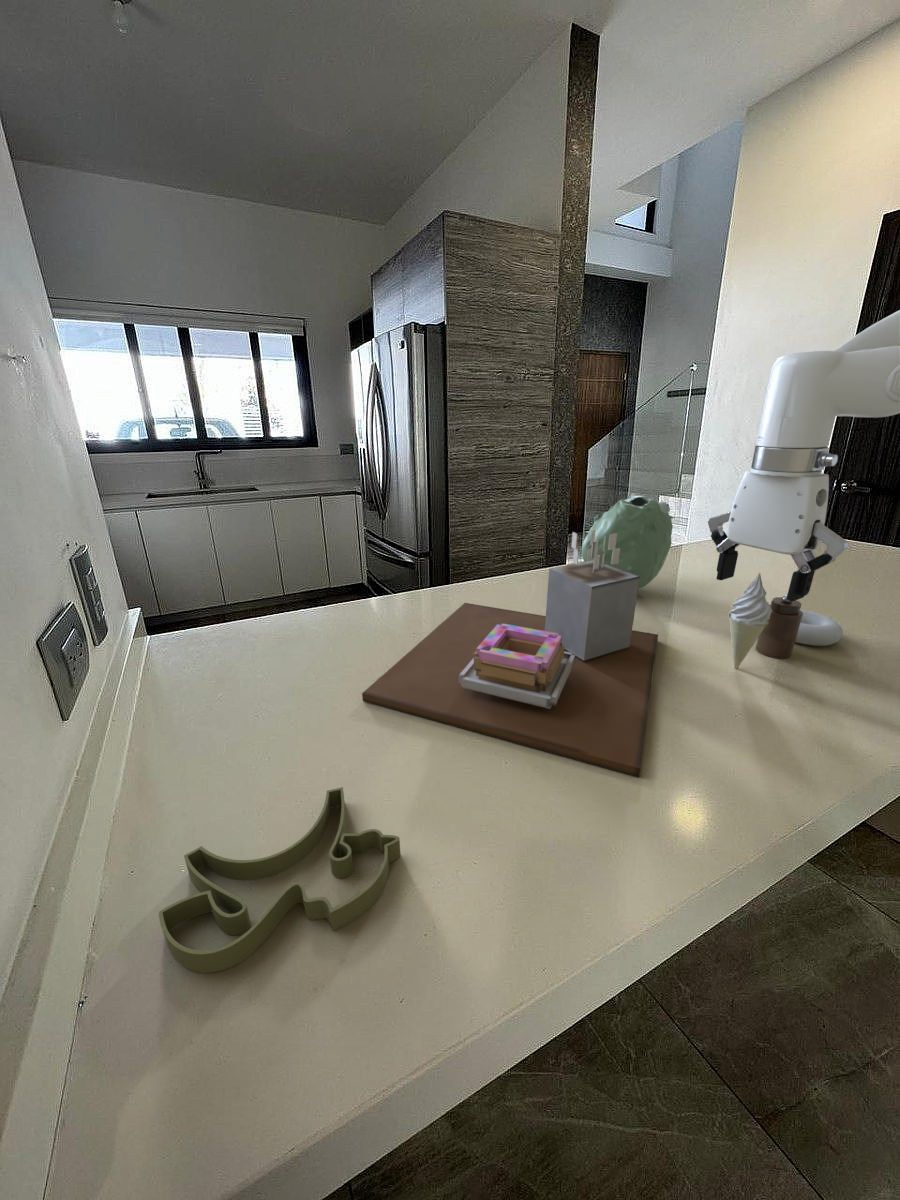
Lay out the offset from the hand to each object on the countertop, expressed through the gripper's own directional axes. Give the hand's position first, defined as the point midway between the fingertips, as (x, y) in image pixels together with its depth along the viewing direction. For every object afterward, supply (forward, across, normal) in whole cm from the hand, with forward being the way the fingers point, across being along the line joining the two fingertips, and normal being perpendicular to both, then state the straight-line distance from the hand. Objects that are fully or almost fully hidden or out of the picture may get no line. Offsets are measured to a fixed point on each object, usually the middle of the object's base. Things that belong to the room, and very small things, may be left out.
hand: (758, 588), depth 67 cm
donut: (+13, +1, -20) cm, 24 cm away
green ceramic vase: (+13, +32, -10) cm, 36 cm away
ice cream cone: (+13, 0, 0) cm, 13 cm away
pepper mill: (+13, 0, -10) cm, 16 cm away
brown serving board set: (+12, +16, +28) cm, 34 cm away
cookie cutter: (+12, -2, +66) cm, 68 cm away
